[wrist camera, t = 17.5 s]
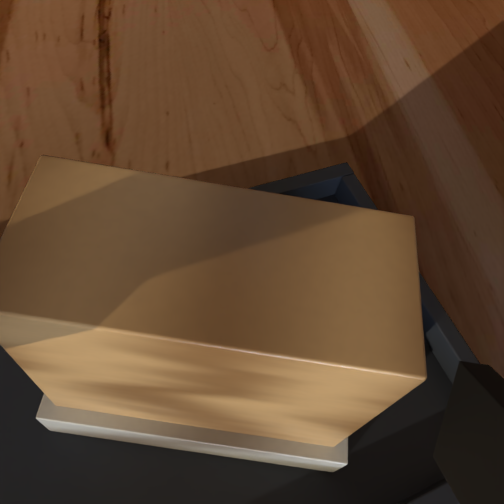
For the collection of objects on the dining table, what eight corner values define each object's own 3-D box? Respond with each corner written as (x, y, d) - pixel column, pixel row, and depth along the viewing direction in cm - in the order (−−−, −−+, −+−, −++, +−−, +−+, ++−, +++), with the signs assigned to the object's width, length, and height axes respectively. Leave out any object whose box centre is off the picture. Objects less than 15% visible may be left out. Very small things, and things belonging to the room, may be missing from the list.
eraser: (48, 430, 18) (-71, 326, 10) (91, 301, 21) (27, 136, 13) (333, 472, 19) (453, 407, 10) (337, 339, 22) (432, 203, 13)
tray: (-265, 358, 19) (-316, 336, 17) (335, 189, 27) (347, 161, 25) (-320, 917, 12) (-417, 986, 10) (509, 466, 20) (544, 457, 18)
